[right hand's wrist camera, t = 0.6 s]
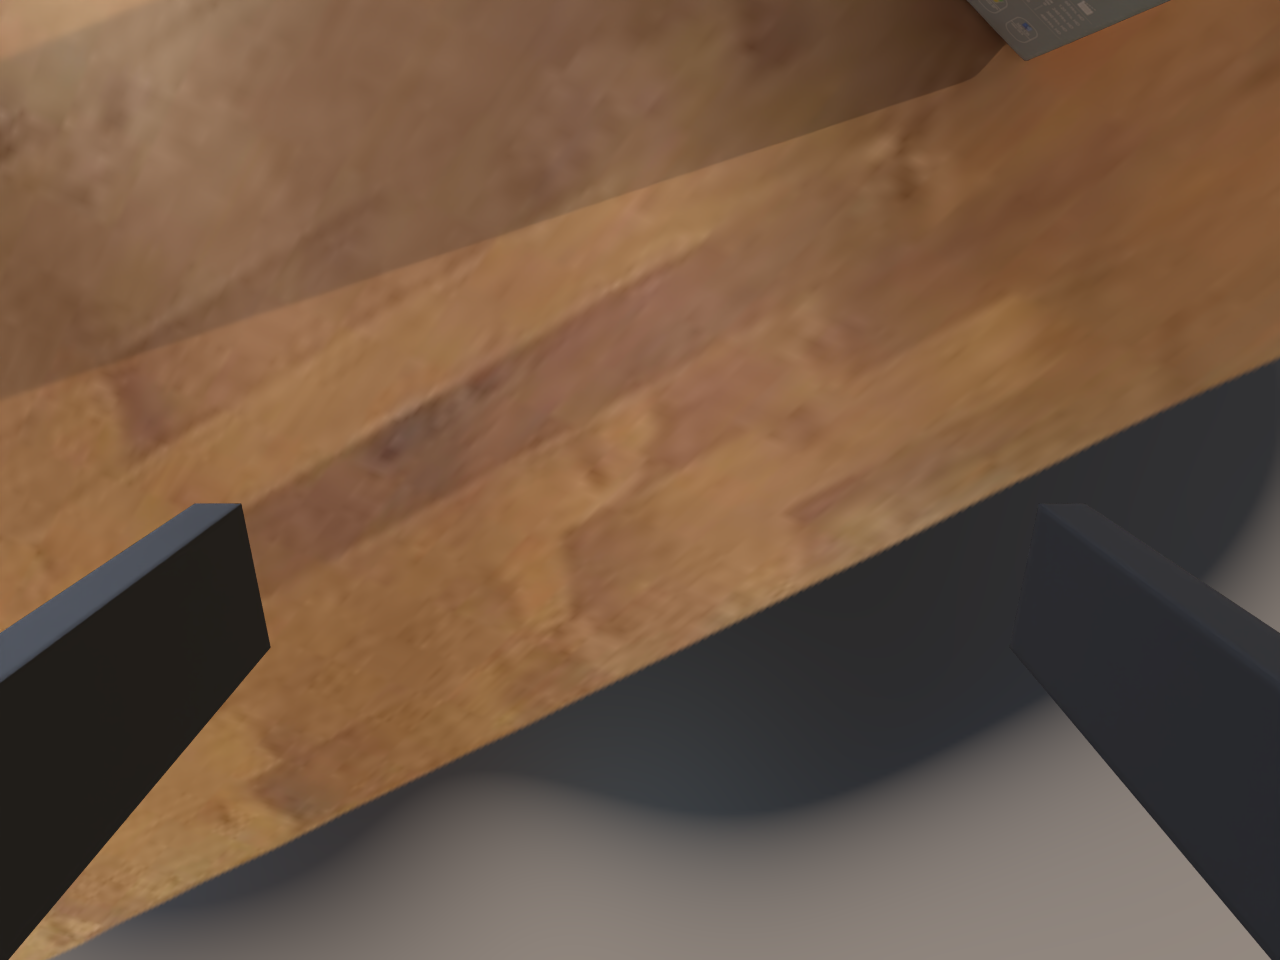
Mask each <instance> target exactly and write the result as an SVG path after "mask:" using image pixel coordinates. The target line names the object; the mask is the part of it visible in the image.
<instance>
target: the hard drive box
mask: <svg viewBox="0 0 1280 960" xmlns="http://www.w3.org/2000/svg"><path fill="white" fill-rule="evenodd" d="M967 1H968V2H969V3H970V4H971V5H972V6H973V7H974V8H975V9H976V10H977V12H978V13H979V14H980V15H981V16H982V17H983V18H984V19H985V20H986V21H987V22H988V23H989V24H990V26H991V27H992V28H993V29H994V30H995V31H996V32H997V33H998V34H999V35H1000V36H1001V37H1002V38H1003V39H1004V40H1005V41H1006V42H1007V44H1008V45H1009V46H1010V47H1011V48H1012V49H1013V50H1014V51H1015V52H1016V53H1017V54H1018V55H1019V56H1020V57H1021V58H1022V59H1023V60H1030V59H1032V58H1034V57H1037V56H1039V55H1042V54H1044V53H1047V52H1049V51H1052V50H1054V49H1056V48H1059V47H1061V46H1063V45H1066V44H1069V43H1071V42H1073V41H1075V40H1078V39H1080V38H1083V37H1085V36H1087V35H1090V34H1092V33H1095V32H1097V31H1099V30H1102V29H1104V28H1106V27H1109V26H1111V25H1113V24H1116V23H1118V22H1120V21H1123V20H1125V19H1127V18H1130V17H1132V16H1134V15H1137V14H1139V13H1141V12H1144V11H1146V10H1148V9H1151V8H1153V7H1155V6H1158V5H1160V4H1163V3H1165V2H1167V1H1170V0H967Z"/></svg>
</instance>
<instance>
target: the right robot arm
mask: <svg viewBox="0 0 1280 960" xmlns="http://www.w3.org/2000/svg"><path fill="white" fill-rule="evenodd" d="M269 649H270V642H269V637H268V632H267V628H266V623H265V618H264V613H263V608H262V603H261V598H260V593H259V588H258V583H257V578H256V573H255V569H254V564H253V559H252V554H251V549H250V544H249V539H248V534H247V529H246V524H245V519H244V514H243V510H242V505H241V504H193V505H192V506H190V507H189V508H187V509H186V510H184V511H183V512H181V513H180V514H178V515H177V516H175V517H174V518H172V519H171V520H169V521H168V522H166V523H165V524H163V525H162V526H160V527H159V528H157V529H156V530H154V531H153V532H151V533H150V534H148V535H147V536H145V537H144V538H142V539H141V540H139V541H138V542H136V543H135V544H133V545H132V546H130V547H129V548H127V549H126V550H124V551H123V552H121V553H120V554H118V555H117V556H115V557H114V558H112V559H111V560H109V561H108V562H106V563H105V564H103V565H102V566H100V567H99V568H97V569H96V570H94V571H93V572H91V573H90V574H88V575H87V576H85V577H84V578H82V579H81V580H79V581H78V582H76V583H75V584H73V585H72V586H70V587H69V588H67V589H66V590H64V591H63V592H61V593H60V594H58V595H57V596H55V597H54V598H52V599H51V600H49V601H48V602H46V603H45V604H43V605H42V606H40V607H39V608H37V609H36V610H34V611H33V612H31V613H30V614H28V615H27V616H25V617H24V618H22V619H21V620H19V621H18V622H16V623H15V624H13V625H12V626H10V627H9V628H7V629H6V630H4V631H3V632H1V633H0V960H9V958H10V957H11V956H12V955H13V954H14V952H15V951H16V950H17V949H18V948H19V947H20V945H21V944H22V943H23V942H24V941H25V939H26V938H27V937H28V936H29V935H30V933H31V932H32V931H33V930H34V929H35V927H36V926H37V925H38V924H39V923H40V922H41V920H42V919H43V918H44V917H45V916H46V914H47V913H48V912H49V911H50V910H51V908H52V907H53V906H54V905H55V904H56V902H57V901H58V900H59V899H60V898H61V896H62V895H63V894H64V893H65V892H66V891H67V889H68V888H69V887H70V886H71V885H72V883H73V882H74V881H75V880H76V879H77V877H78V876H79V875H80V874H81V873H82V871H83V870H84V869H85V868H86V867H87V865H88V864H89V863H90V862H91V861H92V860H93V858H94V857H95V856H96V855H97V854H98V852H99V851H100V850H101V849H102V848H103V846H104V845H105V844H106V843H107V842H108V840H109V839H110V838H111V837H112V836H113V835H114V833H115V832H116V831H117V830H118V829H119V827H120V826H121V825H122V824H123V823H124V821H125V820H126V819H127V818H128V817H129V815H130V814H131V813H132V812H133V811H134V809H135V808H136V807H137V806H138V805H139V804H140V802H141V801H142V800H143V799H144V798H145V796H146V795H147V794H148V793H149V792H150V790H151V789H152V788H153V787H154V786H155V784H156V783H157V782H158V781H159V780H160V779H161V777H162V776H163V775H164V774H165V773H166V771H167V770H168V769H169V768H170V767H171V765H172V764H173V763H174V762H175V761H176V759H177V758H178V757H179V756H180V755H181V753H182V752H183V751H184V750H185V749H186V748H187V746H188V745H189V744H190V743H191V742H192V740H193V739H194V738H195V737H196V736H197V734H198V733H199V732H200V731H201V730H202V728H203V727H204V726H205V725H206V724H207V723H208V721H209V720H210V719H211V718H212V717H213V715H214V714H215V713H216V712H217V711H218V709H219V708H220V707H221V706H222V705H223V703H224V702H225V701H226V700H227V699H228V697H229V696H230V695H231V694H232V693H233V692H234V690H235V689H236V688H237V687H238V686H239V684H240V683H241V682H242V681H243V680H244V678H245V677H246V676H247V675H248V674H249V672H250V671H251V670H252V669H253V668H254V667H255V665H256V664H257V663H258V662H259V661H260V659H261V658H262V657H263V656H264V655H265V653H266V652H267V651H268V650H269ZM1010 649H1011V650H1012V651H1013V652H1014V653H1015V654H1016V656H1017V657H1018V658H1019V659H1020V661H1021V662H1022V663H1023V664H1024V665H1025V666H1026V668H1027V669H1028V670H1029V671H1030V672H1031V674H1032V675H1033V676H1034V677H1035V678H1036V680H1037V681H1038V682H1039V683H1040V684H1041V685H1042V687H1043V688H1044V689H1045V690H1046V691H1047V693H1048V694H1049V695H1050V696H1051V697H1052V699H1053V700H1054V701H1055V702H1056V703H1057V705H1058V706H1059V707H1060V708H1061V709H1062V711H1063V712H1064V713H1065V714H1066V715H1067V716H1068V718H1069V719H1070V720H1071V721H1072V723H1073V724H1074V725H1075V726H1076V727H1077V728H1078V730H1079V731H1080V732H1081V733H1082V734H1083V736H1084V737H1085V738H1086V739H1087V740H1088V742H1089V743H1090V744H1091V745H1092V746H1093V748H1094V749H1095V750H1096V751H1097V752H1098V753H1099V755H1100V756H1101V757H1102V758H1103V759H1104V761H1105V762H1106V763H1107V764H1108V765H1109V767H1110V768H1111V769H1112V770H1113V771H1114V773H1115V774H1116V775H1117V776H1118V777H1119V779H1120V780H1121V781H1122V782H1123V783H1124V784H1125V786H1126V787H1127V788H1128V789H1129V790H1130V792H1131V793H1132V794H1133V795H1134V796H1135V798H1136V799H1137V800H1138V801H1139V802H1140V804H1141V805H1142V806H1143V807H1144V808H1145V809H1146V811H1147V812H1148V813H1149V814H1150V815H1151V817H1152V818H1153V819H1154V820H1155V821H1156V822H1157V824H1158V825H1159V826H1160V827H1161V829H1162V830H1163V831H1164V832H1165V833H1166V834H1167V836H1168V837H1169V838H1170V839H1171V840H1172V842H1173V843H1174V844H1175V845H1176V846H1177V848H1178V849H1179V850H1180V851H1181V852H1182V854H1183V855H1184V856H1185V857H1186V858H1187V860H1188V861H1189V862H1190V863H1191V864H1192V865H1193V867H1194V868H1195V869H1196V870H1197V871H1198V873H1199V874H1200V875H1201V876H1202V877H1203V878H1204V880H1205V881H1206V882H1207V883H1208V885H1209V886H1210V887H1211V888H1212V889H1213V891H1214V892H1215V893H1216V894H1217V895H1218V896H1219V898H1220V899H1221V900H1222V901H1223V902H1224V904H1225V905H1226V906H1227V907H1228V908H1229V910H1230V911H1231V912H1232V913H1233V914H1234V916H1235V917H1236V918H1237V919H1238V920H1239V921H1240V923H1241V924H1242V925H1243V926H1244V927H1245V929H1246V930H1247V931H1248V932H1249V933H1250V935H1251V936H1252V937H1253V938H1254V939H1255V941H1256V942H1257V943H1258V944H1259V945H1260V947H1261V948H1262V949H1263V950H1264V951H1265V952H1266V954H1267V955H1268V956H1269V957H1270V958H1271V960H1280V633H1279V632H1277V631H1276V630H1274V629H1273V628H1271V627H1270V626H1268V625H1267V624H1265V623H1264V622H1262V621H1261V620H1259V619H1258V618H1256V617H1255V616H1253V615H1252V614H1250V613H1249V612H1247V611H1246V610H1244V609H1243V608H1241V607H1240V606H1238V605H1237V604H1235V603H1234V602H1232V601H1231V600H1229V599H1228V598H1226V597H1225V596H1223V595H1222V594H1220V593H1219V592H1217V591H1216V590H1214V589H1213V588H1211V587H1210V586H1208V585H1207V584H1205V583H1204V582H1202V581H1201V580H1199V579H1198V578H1196V577H1195V576H1193V575H1192V574H1190V573H1189V572H1187V571H1186V570H1184V569H1183V568H1181V567H1180V566H1178V565H1177V564H1175V563H1174V562H1172V561H1171V560H1169V559H1168V558H1166V557H1165V556H1163V555H1162V554H1160V553H1159V552H1157V551H1156V550H1154V549H1153V548H1151V547H1150V546H1148V545H1147V544H1145V543H1144V542H1142V541H1141V540H1139V539H1138V538H1136V537H1135V536H1133V535H1132V534H1130V533H1129V532H1127V531H1126V530H1124V529H1123V528H1121V527H1120V526H1118V525H1117V524H1115V523H1114V522H1112V521H1111V520H1109V519H1108V518H1106V517H1105V516H1103V515H1102V514H1100V513H1099V512H1097V511H1096V510H1094V509H1093V508H1091V507H1090V506H1088V505H1087V504H1039V505H1038V510H1037V515H1036V519H1035V524H1034V529H1033V534H1032V539H1031V544H1030V549H1029V554H1028V559H1027V564H1026V569H1025V573H1024V578H1023V583H1022V588H1021V593H1020V598H1019V603H1018V608H1017V613H1016V618H1015V623H1014V628H1013V633H1012V637H1011V642H1010Z"/></svg>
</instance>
